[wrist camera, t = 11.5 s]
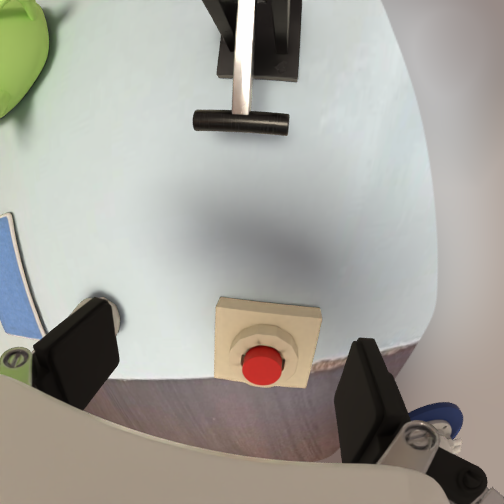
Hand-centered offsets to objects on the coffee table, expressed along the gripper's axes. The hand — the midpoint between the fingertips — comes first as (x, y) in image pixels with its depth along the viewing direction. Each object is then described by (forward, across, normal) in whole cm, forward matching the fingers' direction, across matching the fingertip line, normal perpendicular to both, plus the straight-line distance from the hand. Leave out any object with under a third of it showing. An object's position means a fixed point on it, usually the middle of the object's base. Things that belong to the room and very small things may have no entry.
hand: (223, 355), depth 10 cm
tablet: (+18, +38, +10) cm, 43 cm away
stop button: (+14, -2, +11) cm, 18 cm away
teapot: (+18, +35, -20) cm, 44 cm away
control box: (+18, -2, +11) cm, 21 cm away
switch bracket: (+18, +2, -19) cm, 26 cm away
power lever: (+10, +2, -15) cm, 18 cm away
